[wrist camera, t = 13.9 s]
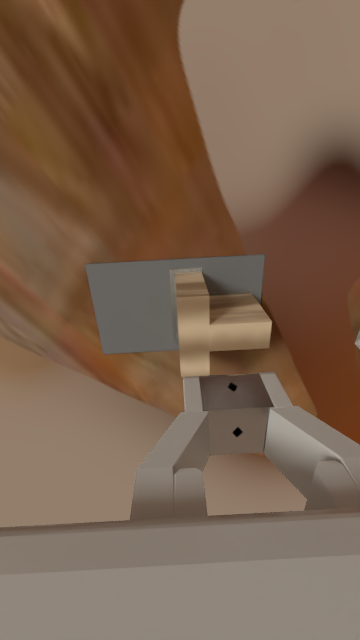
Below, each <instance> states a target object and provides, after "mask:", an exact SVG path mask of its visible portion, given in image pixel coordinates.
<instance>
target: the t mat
mask: <svg viewBox="0 0 360 640" xmlns="http://www.w3.org/2000/svg"><path fill="white" fill-rule="evenodd" d="M264 260H265V254H262V255H243V256H224V257H206V258H187V259H169V260H151V261H132V262H114V263H96V264H85V266H86V271H87V276H88V281H89V286H90V291H91V296H92V300H93V305H94V310H95V315H96V320H97V325H98V330H99V335H100V340H101V345H102V349H103V354H114V353H132V352H150V351H168V350H179V333H178V316H177V298H176V276H175V273H189V272H202V275H203V278H204V281H205V284H206V287H207V290H208V293H209V296H214V295H232V294H250V293H252V295H253V296H254V297H255V299H256V300H257V301H258V303H259V304H260V305H261V294H262V283H263V272H264Z"/></svg>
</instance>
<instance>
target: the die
mask: <svg viewBox="0 0 360 640" xmlns="http://www.w3.org/2000/svg"><path fill="white" fill-rule="evenodd" d="M354 344H355V345H356V346H357V347H358V348H359V349H360V330H359V333H358V335H357V338H356V341H355V343H354Z"/></svg>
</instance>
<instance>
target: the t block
mask: <svg viewBox="0 0 360 640" xmlns="http://www.w3.org/2000/svg"><path fill="white" fill-rule="evenodd" d="M175 276H176V298H177V316H178V333H179V350H180V368H181V377H186V376H210V365H209V351H227V350H245V349H263V348H269V344H270V336H271V327H272V321H271V319H270V318H269V317H268V315H267V314H266V312H265V311H264V310H263V308H262V307H261V306H260V304H259V303H258V301H257V300H256V299H255V297H254V296H253V295H252V293H250V294H232V295H214V296H209V293H208V290H207V287H206V284H205V281H204V278H203V275H202V272H189V273H175Z"/></svg>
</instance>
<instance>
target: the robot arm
mask: <svg viewBox="0 0 360 640" xmlns="http://www.w3.org/2000/svg"><path fill="white" fill-rule="evenodd" d="M183 387H184V406H185V412H182V413H180V414H179V415H178V416H177V418H176V419H175V420H174V422H173V423H172V424H171V426H170V427H169V428H168V429H167V431H166V432H165V433H164V435H163V436H162V437H161V439H160V440H159V441H158V442H157V444H156V445H155V446H154V448H153V449H152V450H151V451H150V453H149V454H148V455H147V457H146V458H145V459H144V460H143V462H142V463H141V464H140V466H139V467H138V468H137V469H136V477H135V484H134V492H133V500H132V507H131V515H130V520H125V521H108V522H89V523H72V524H56V525H55V524H54V525H36V526H20V527H19V526H18V527H1V528H0V640H360V445H359V444H357V443H356V442H354V441H352V440H351V439H349V438H348V437H346V436H344V435H343V434H341V433H340V432H338V431H337V430H335V429H333V428H332V427H330V426H328V425H327V424H325V423H324V422H322V421H321V420H319V419H318V418H316V417H314V416H313V415H311V414H310V413H308V412H306V411H305V410H303V409H302V408H300V407H298V406H293V405H292V403H291V401H290V400H289V398H288V396H287V394H286V392H285V390H284V389H283V387H282V385H281V383H280V381H279V380H278V378H277V376H276V374H275V373H274V372H262V373H255V374H238V375H210V376H199V377H198V376H186V377H183ZM234 453H264V455H265V456H266V457H267V458H268V459H269V460H270V461H271V462H272V463H273V464H274V465H275V466H276V467H277V468H278V469H279V470H280V471H281V472H282V474H283V475H284V476H285V477H286V478H287V479H288V480H289V481H290V482H291V483H292V484H293V485H294V486H295V487H296V488H297V489H298V490H299V491H300V492H301V493H302V494H303V495H304V497H306V499H307V502H306V506H305V509H304V511H289V512H270V513H254V514H234V515H216V516H208V515H207V508H206V498H205V489H204V482H203V473H202V472H203V470H204V467H205V465H206V463H207V461H208V458H209V456H210V455H222V454H234Z"/></svg>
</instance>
